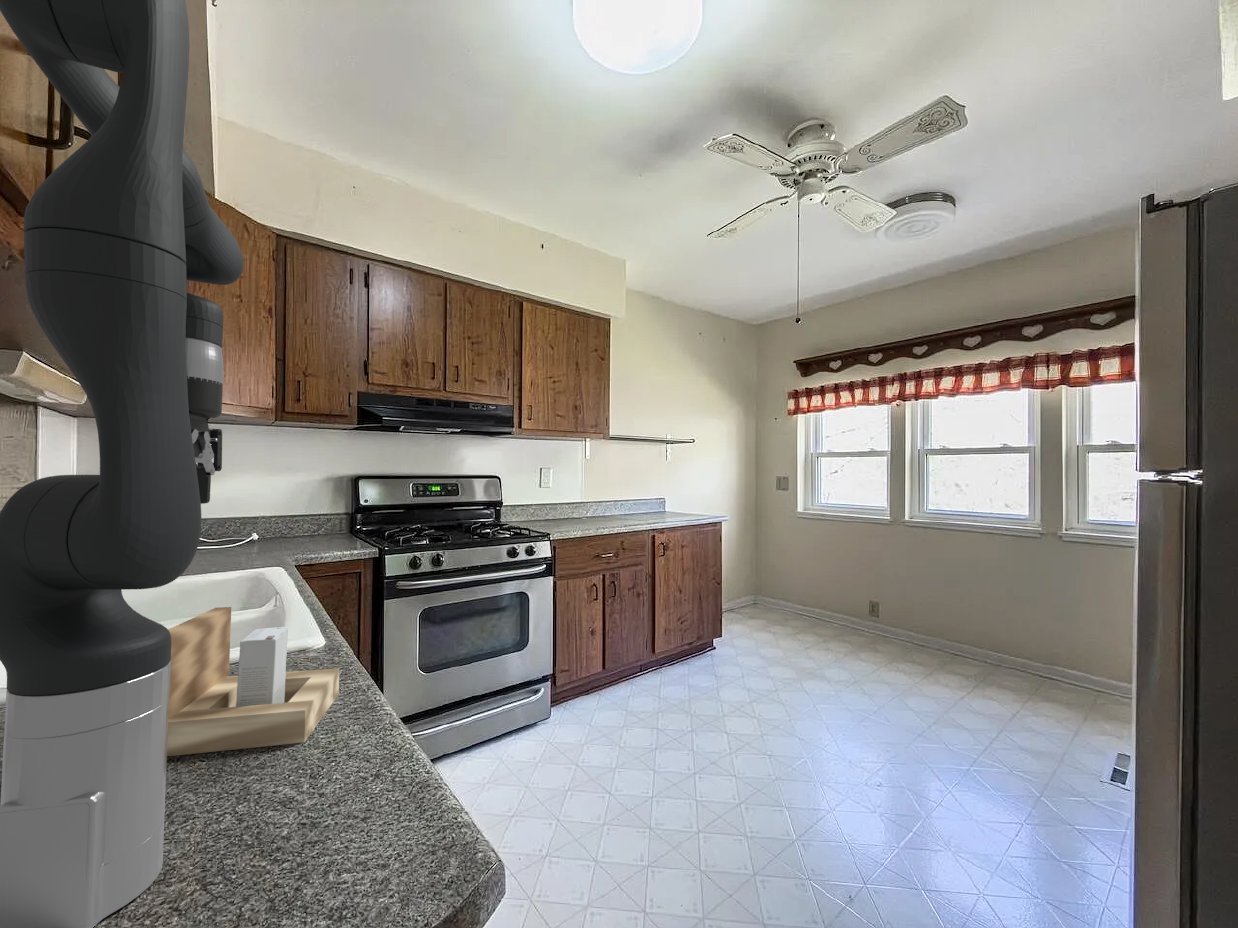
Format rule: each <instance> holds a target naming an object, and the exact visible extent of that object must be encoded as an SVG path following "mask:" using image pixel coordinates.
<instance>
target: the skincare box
mask: <svg viewBox="0 0 1238 928" xmlns="http://www.w3.org/2000/svg"><path fill="white" fill-rule="evenodd" d="M288 632H289V627H288V626H278V627H276V626H274V627H264V628H257V629H256V628H255V629H254V630H253V631H251V632H250V633H249V634H248V635H247V636H246V637H245V638H243V639H242V640H241V641H240V642H239V657H238V672H237V676H238V684H237V701H236V707H239V706H251V705H263V704H275V703H284V698H285V677H286V672H287V653H288V634H289V633H288Z"/></svg>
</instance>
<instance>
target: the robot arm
mask: <svg viewBox="0 0 1238 928" xmlns="http://www.w3.org/2000/svg"><path fill="white" fill-rule="evenodd" d="M0 13H1V15H2V16H3V18H4V20H5V21H6V22H7V24H8V25H9V27H10V29H11V30H12V32H13V34H14V35H15V36H16V38H17V39H18V41H19V42H20V44H21V45H22V46H23V47H24V50H26V51H27V53H28V54H29V56H30V58H32V60H33V61H34V63H35V64H36V65H37V66H38V67H39V69H40V71H42V73H43V74H44V76H45V77H46V78H47V79H48V81H49V82H50V84H51V85H52V86H53V88H54V89H55V90H56V92H57V93H58V94H59V96H60V97H61V98H62V99H63V101H64V102H65V103H66V105H67V106H68V107H69V109H70V110H71V111H72V113H73V114H74V115H75V116H76V118H77V119H78V120H79V121H80V123H81V124H82V125H83V126H84V128H85V129H86V131H87V132H88V133H89V134H90V135H91V136H90V138H89V139H88V140H87V141H85V143H83V144H82V145H81V146H79V148H78V149H77V150H75V151H74V152H73V153H72V154H71V155H70V156H68V157H67V158H66V159H65V160H64V161H63V162H62V163H60V164H59V165H58V166H57V167H56V168H55V169H54V170H53V172H51V174H49V176H47V177H46V179H45V180H44V181H43V182H41V184H40V185H39V187H37V189H36V190H35V192H34V193H33V194H32V196H31V197H30V200H29V202H28V203H27V206H26V207H25V211H24V216H23V233H24V234H23V246H24V247H23V251H24V281H25V282H24V284H25V285H24V286H25V291H26V292H25V293H26V298H27V302H28V304H29V308H30V309H31V312H32V314H33V316H34V318H35V320H36V322H37V323H38V325H39V327H40V328H41V330H42V331H43V333H44V335H45V336H46V338H47V339H48V341H49V343H50V344H51V346H52V347H53V349H55V350H56V352H57V354H58V355H59V356H60V358H61V359H62V361H63V362H64V363H65V365H66V366H67V367H68V369H69V370H70V372H71V373H72V374H73V376H74V377H75V379H76V381H77V382H78V384H79V385H80V387H81V389H82V391H84V393H85V396H86V397H87V399H88V401H89V404H90V406H91V410H92V413H93V415H94V419H95V425H96V429H97V436H98V439H97V440H98V448H99V474H59V475H52V476H46V477H42V478H39V479H36V480H34V481H31V482H30V483H26V484H24V486H22V487H20V488H19V489H17V490H16V491H15V492H14V493H13V494H12V496H9V498H8V500H7V501H6V502H5V503H4V505H3V507H2V508H1V510H0V662H1V664H2V665H3V667H4V668H5V671H6V695H5V697H6V698H5V712H4V713H5V714H4V716H5V717H4V732H3V745H2V746H3V748H2V749H3V750H2V767H1V785H0V786H1V788H0V928H93V927H94V926H95V927H96V926H97V924H99V923H100V922H101V921H102V920H103V919H105V918H106V917H108V916H109V915H111V914H113V913H115V912H117V911H118V910H120V909H121V908H124V907H125V906H126V905H128V904H129V903H131V902H132V901H133V900H134V899H136V898H138V897H139V896H140V895H141V894H142V893H143V892H144V891H146V890H147V889H148V888H149V887H151V885H152V884H153V883H154V882H155V881H156V880H157V878H158V877H159V874H160V873H161V871H162V869H163V864H164V863H163V862H164V843H165V842H164V839H165V838H164V837H165V836H164V835H165V811H166V809H165V808H166V784H167V783H166V782H167V763H168V762H167V760H168V756H167V738H168V713H169V693H170V668H171V661H170V660H171V635H170V632H169V630H168V628H167V627H166V626H164V625H163V624H161V623H159V622H158V621H157V622H156V621H155V620H152V619H150V618H149V617H146V616H144V615H142V614H141V613H139V612H137V610H134V609H133V608H132V606H130V605H129V604H128V603H127V601H126V600H125V598H124V596H123V591H122V590H146V589H147V590H148V589H156V588H161V587H163V586H166V585H168V584H170V583H172V582H174V581H176V580H177V579H178V578H179V577H181V575H183V574H184V572H185V571H186V570H187V569H188V568H189V566H190V565H191V563H192V562H193V559H194V557H195V555H196V553H197V550H198V546H199V544H200V543H199V542H200V539H201V531H202V504H203V505H205V504H208V503H210V501H211V484H212V483H211V482H212V476H215V473H216V472H221V471H222V469H223V468H222V467H223V430H222V429H221V428H210V427H209V426H210V425H209V419H211V418H212V419H214V418H219V417H221V415H222V411H223V392H224V391H223V389H224V387H223V385H224V368H225V367H224V358H223V357H224V356H223V338H224V337H223V336H224V335H223V334H224V312H223V309H222V308H221V307H220V305H219V304H217V303H215V302H214V301H213V300H210V299H207V298H204V297H201V296H199V295H195V294H192V293H189V292H187V287H188V286H187V281H190V282H197V283H203V284H204V283H205V284H208V285H209V284H210V285H216V286H217V285H218V286H226V285H227V286H228V285H231V284H233V283H235V282H236V281H238V280H239V278H241V276H242V273H243V271H244V256H243V252H242V249H241V247H240V245H239V243H238V241H237V239H236V237H235V236H234V234H233V233H232V231H231V230H230V229H229V228H228V227H227V226H226V225H227V224H225V223H224V221H222V219H221V218H220V217H219V216H218V215H217V213H216V211H214V209H213V208H212V206H210V203H209V200H208V196H207V194H206V191H205V187H204V183H203V181H202V179H201V175H200V173H199V171H198V169H197V167H196V165H195V164H194V161H192V159H191V157H190V156H189V154H188V153H187V152H186V151H185V149H184V138H185V136H184V135H185V124H186V123H185V122H186V121H185V120H186V110H187V109H186V108H187V96H188V84H189V83H188V82H189V81H188V80H189V68H190V67H189V65H190V63H189V61H190V28H189V27H190V26H189V16H188V8H187V3H186V0H0ZM106 70H107V71H110V72H114V73H117V74H122V77H121V78H122V79H121V82H120V85H118V83H117V82H116V81H114V79H113V78H112V77H111V76H110V75H109V73H108V72H107V71H106ZM95 927H94V928H95Z"/></svg>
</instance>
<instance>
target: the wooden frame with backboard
mask: <svg viewBox="0 0 1238 928" xmlns="http://www.w3.org/2000/svg"><path fill="white" fill-rule="evenodd" d="M231 622H232V606H225V607H224V606H223V607H222V606H221V607H219V606H218V607H214V608H212V609H210V610H207V611H205V612H203V613H201V614H199V615H197V616H195V617H193V618H190V619H188V620H186V621H184V622H182V623H181V622H180V623H179V624H177V625H174V626H172V627H171V628H169V629H168V628H167V629H168V630H169V632H170V635H171V660H170V661H171V668H170V693H169V713H168V738H167V757H172V756H173V757H174V756H175V757H176V756H184V755H193V754H194V755H195V754H203V753H213V752H215V753H216V752H223V751H225V752H226V751H232V750H241V749H242V750H244V749H251V748H252V749H253V748H261V747H262V748H263V747H271V746H282V745H291V744H302V743H305V742H306V741H307V740H308V738H309V737H310V735H311V734H312V733H313V731H314V730H315V728H316V727H317V725H318V724H319V722H320V721H321V720H322V718H323V717H324V716H325V714H326V713H327V712H328V710H329V709H330V707H331V706H332V705H333V703H334V702H335V700H336V699H337V698H338V696H339V694H340V692H339V691H340V668H339V667H337V668H324V669H323V668H322V669H313V670H311V669H310V670H298V671H297V670H296V671H286V677H285V698H284V703H275V704H263V705H251V706H239V707H236V701H237V684H238V675H230V659H231V658H230V656H231V655H230V653H231V627H232V626H231V625H232V623H231Z"/></svg>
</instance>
